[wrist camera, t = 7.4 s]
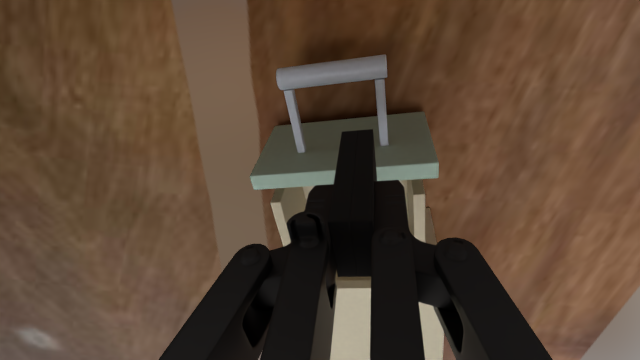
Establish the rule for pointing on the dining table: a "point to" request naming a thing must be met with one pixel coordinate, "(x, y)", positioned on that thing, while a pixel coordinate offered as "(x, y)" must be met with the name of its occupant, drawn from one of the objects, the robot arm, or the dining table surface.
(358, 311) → the cabinet
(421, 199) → the drawer
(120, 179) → the dining table surface
